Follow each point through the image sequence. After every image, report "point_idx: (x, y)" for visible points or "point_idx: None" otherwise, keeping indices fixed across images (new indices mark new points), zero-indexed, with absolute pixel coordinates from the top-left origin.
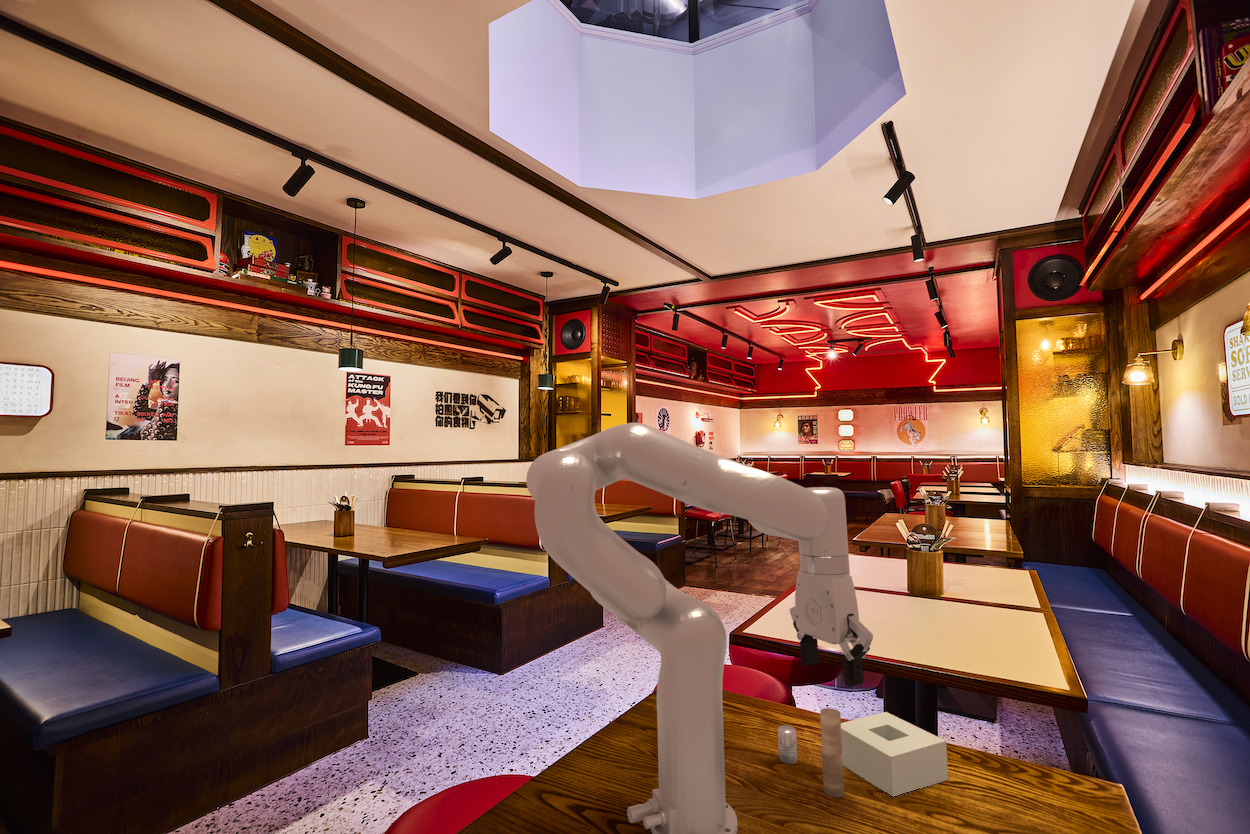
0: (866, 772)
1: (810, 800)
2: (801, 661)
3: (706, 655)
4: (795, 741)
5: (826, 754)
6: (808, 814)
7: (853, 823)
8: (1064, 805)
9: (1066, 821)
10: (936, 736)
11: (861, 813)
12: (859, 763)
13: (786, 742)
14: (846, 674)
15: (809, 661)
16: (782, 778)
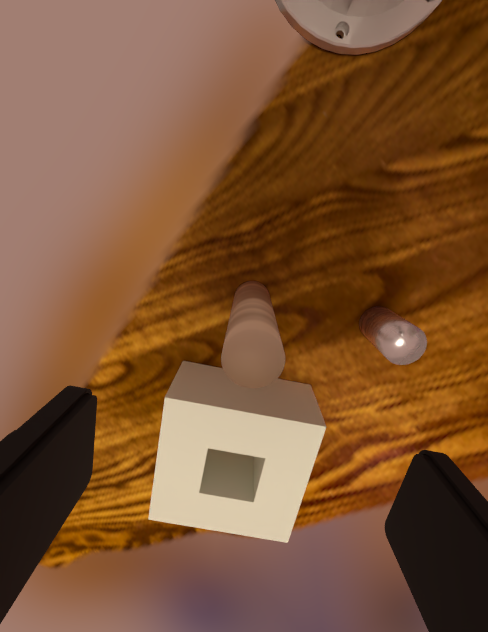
0: None
1: (261, 241)
2: (452, 465)
3: None
4: (374, 341)
5: (251, 298)
6: (235, 199)
7: (173, 245)
8: None
9: None
10: (168, 522)
11: (184, 281)
12: None
13: (385, 322)
14: (25, 424)
15: (414, 495)
16: (342, 258)
